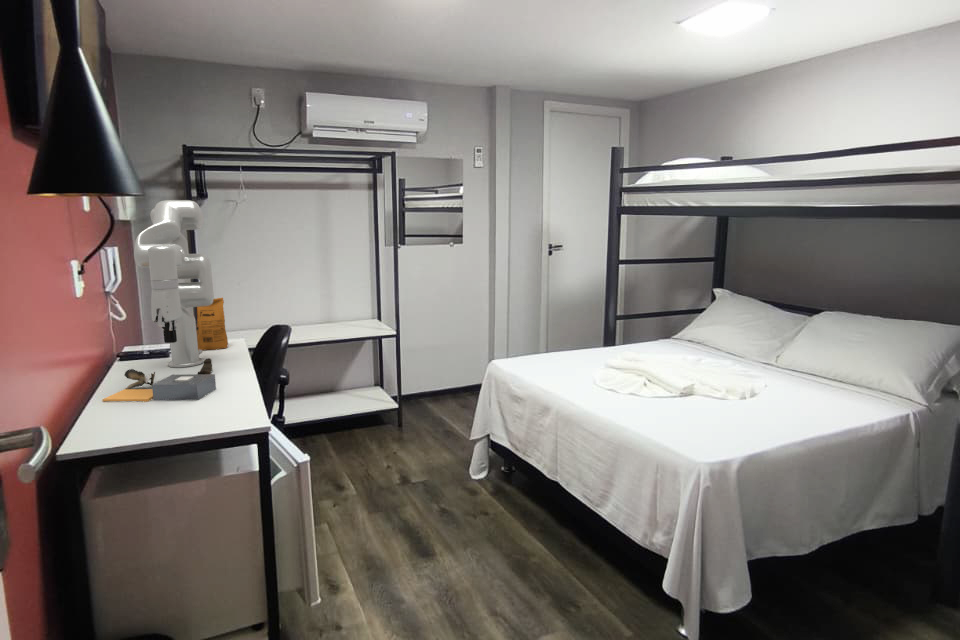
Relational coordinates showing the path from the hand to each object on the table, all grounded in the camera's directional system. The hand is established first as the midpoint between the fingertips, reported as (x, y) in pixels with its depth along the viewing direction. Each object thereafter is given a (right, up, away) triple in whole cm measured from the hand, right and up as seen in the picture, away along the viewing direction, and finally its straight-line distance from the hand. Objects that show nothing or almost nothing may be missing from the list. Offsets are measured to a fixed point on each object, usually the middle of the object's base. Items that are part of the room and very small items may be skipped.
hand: (170, 342), depth 188 cm
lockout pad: (-10, -17, -2) cm, 20 cm away
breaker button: (+5, -15, 0) cm, 16 cm away
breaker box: (+5, -17, 0) cm, 17 cm away
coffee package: (-18, -5, +70) cm, 72 cm away
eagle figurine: (-14, -16, +8) cm, 23 cm away
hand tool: (-1, -13, +25) cm, 28 cm away
